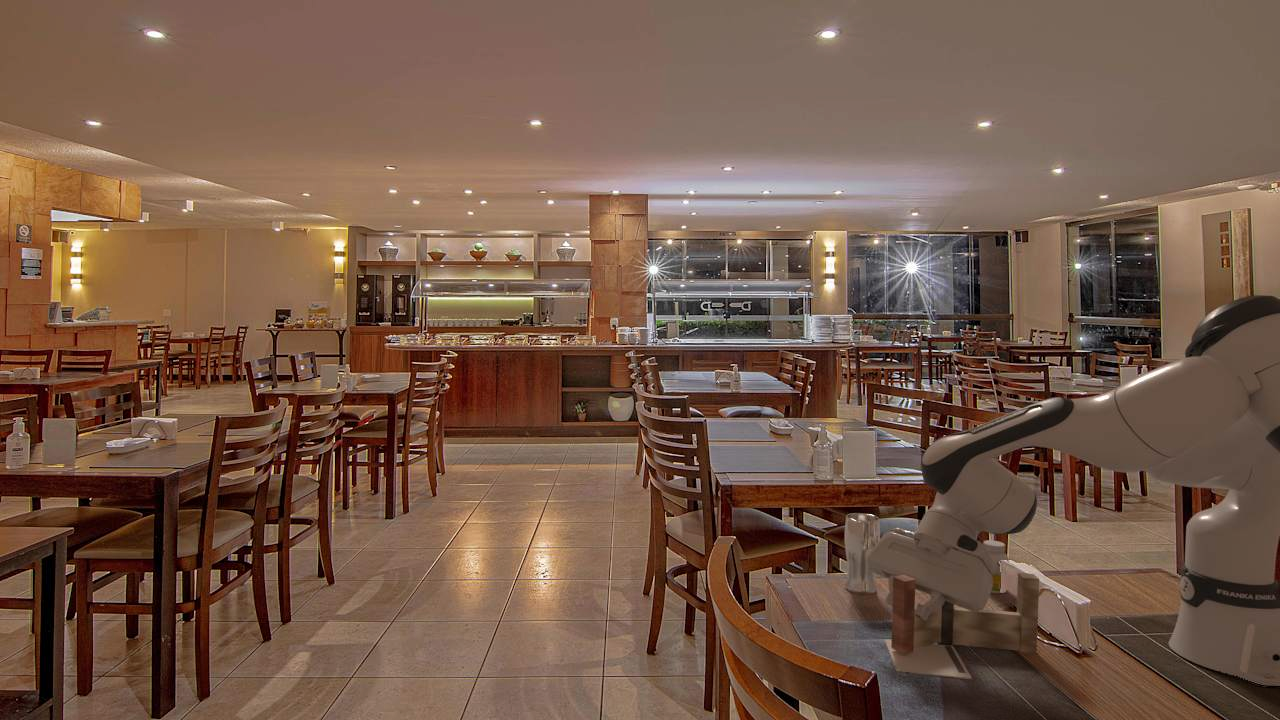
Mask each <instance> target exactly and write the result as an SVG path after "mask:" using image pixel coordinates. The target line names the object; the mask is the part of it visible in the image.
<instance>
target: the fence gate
mask: <svg viewBox="0 0 1280 720" xmlns="http://www.w3.org/2000/svg"><path fill="white" fill-rule="evenodd" d="M915 601H916V589H915V579H913V578H911V577H908V576H906V575H900V576H894V577H893V606H891V607H892V609H891V611H892V612H891V613H892V614H891V640H892V644H891V648H892V649H894V650H896V651H898V652H900V653H901V654H905V653H909V652H913V649H916V648H919V647H923V646H927V645H931V644H939V642H941V619H942V607H940V608H938V609H937V610H935V611H933V612H931V613H930V615H929V617H928V619H927V620H926V621H925V620H923V619H921V618H918V617H917V616H916V615H915V614H914V611H915V609H916V607H915V606H916V604H915V603H916V602H915Z"/></svg>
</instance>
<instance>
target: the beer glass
mask: <svg viewBox="0 0 1280 720" xmlns="http://www.w3.org/2000/svg"><path fill="white" fill-rule="evenodd" d="M880 526H881V525H880V518H879V517H878V516H877V515H874V514H870V513H861V512H854V513H847V514H846V515H845V525H844V548H845V555H846V563H847V576H846V581H845V589H846V588H847V589H848V591H849V592H851V593H854V594H857V593H858V594H859V595H873V594H875V593H876V592H877V584H876V574H875V573H874V572H873V571H872V570H871V569H870V567H869V566H868V564H867V556H868V555H869V553H870V552H871V550H872V549H873V547H874V546H875V545H876V544H877V542H878V541H879V540H880V539H881V530H880V529H881V527H880ZM847 589H846V590H847Z"/></svg>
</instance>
